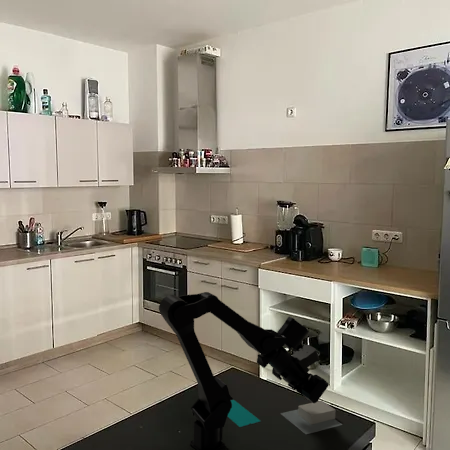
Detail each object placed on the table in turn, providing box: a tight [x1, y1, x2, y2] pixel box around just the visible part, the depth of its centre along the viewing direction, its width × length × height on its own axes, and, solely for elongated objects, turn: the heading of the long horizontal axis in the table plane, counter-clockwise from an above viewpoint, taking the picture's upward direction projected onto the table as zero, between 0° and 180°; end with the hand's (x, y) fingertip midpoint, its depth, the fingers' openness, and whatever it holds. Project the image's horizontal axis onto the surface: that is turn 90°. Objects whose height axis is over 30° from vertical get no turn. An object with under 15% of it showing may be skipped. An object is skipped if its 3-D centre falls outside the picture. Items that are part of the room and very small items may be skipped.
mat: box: [280, 408, 343, 435], centre depth 126 cm, size 12×12×1 cm
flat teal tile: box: [227, 398, 263, 429], centre depth 129 cm, size 7×1×15 cm
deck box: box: [297, 400, 336, 425], centre depth 127 cm, size 3×6×8 cm
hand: (315, 395), depth 126 cm, fingers closed
